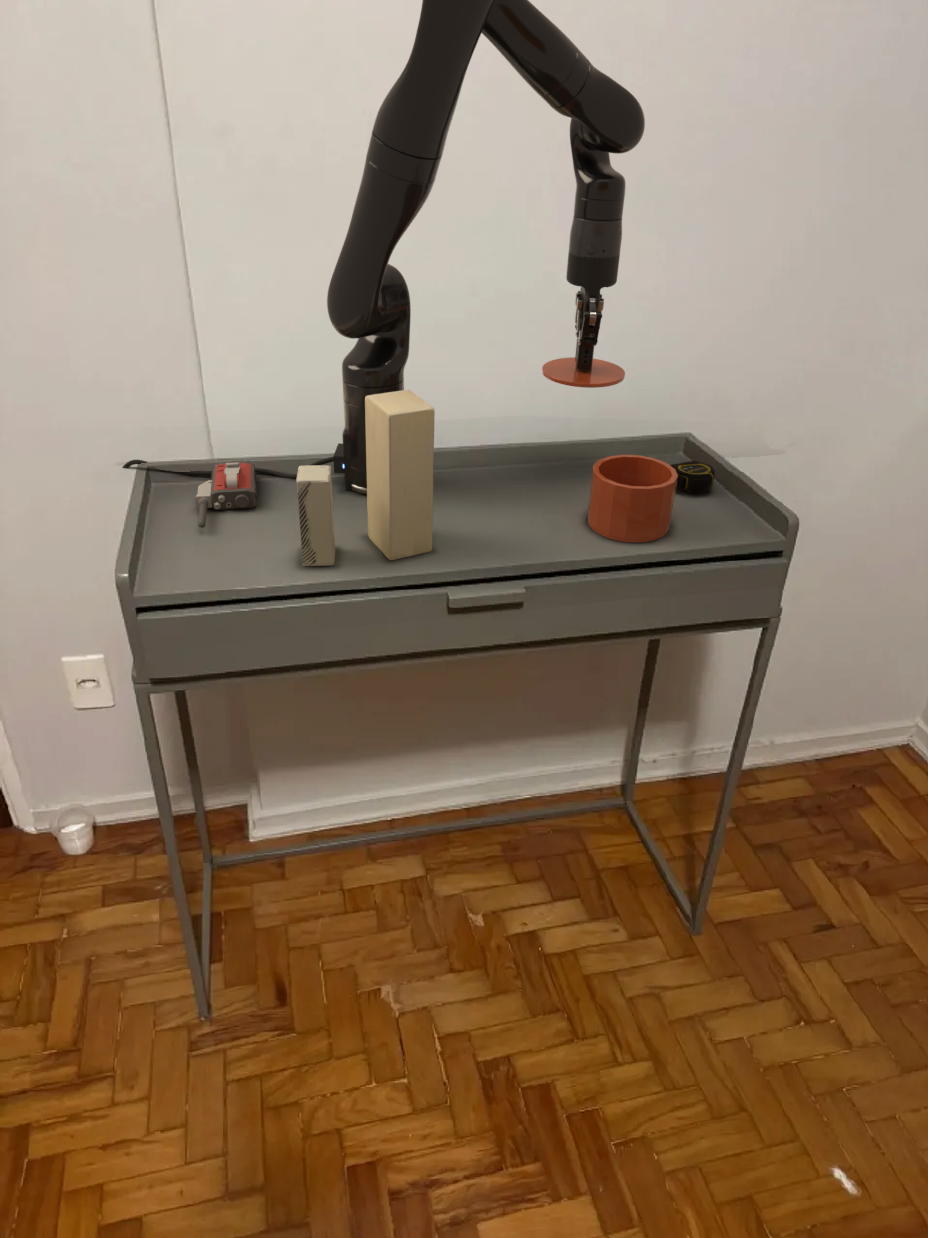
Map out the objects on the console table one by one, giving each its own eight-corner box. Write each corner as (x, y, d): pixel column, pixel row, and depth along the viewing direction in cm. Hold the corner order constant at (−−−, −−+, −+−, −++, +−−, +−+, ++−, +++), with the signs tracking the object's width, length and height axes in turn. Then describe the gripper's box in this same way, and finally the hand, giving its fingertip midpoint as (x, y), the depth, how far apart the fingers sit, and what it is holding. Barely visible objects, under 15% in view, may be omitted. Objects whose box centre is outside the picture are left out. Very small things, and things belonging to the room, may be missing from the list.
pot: (591, 541, 134) (597, 486, 130) (585, 504, 144) (590, 453, 140) (674, 544, 134) (683, 489, 129) (662, 507, 144) (670, 456, 139)
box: (304, 549, 130) (297, 463, 123) (336, 548, 130) (331, 463, 123) (302, 568, 126) (295, 480, 119) (335, 567, 126) (329, 479, 119)
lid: (543, 389, 141) (547, 347, 138) (539, 363, 152) (542, 323, 149) (629, 392, 141) (634, 351, 138) (619, 365, 152) (623, 326, 149)
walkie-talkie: (201, 477, 149) (194, 535, 133) (197, 451, 147) (190, 507, 130) (257, 474, 151) (257, 531, 134) (254, 449, 148) (254, 503, 132)
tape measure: (695, 477, 154) (698, 455, 152) (720, 493, 149) (724, 471, 147) (660, 483, 152) (663, 461, 150) (685, 500, 146) (688, 478, 144)
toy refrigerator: (438, 550, 131) (439, 406, 119) (390, 561, 128) (387, 414, 116) (413, 527, 136) (413, 387, 125) (367, 537, 134) (362, 395, 122)
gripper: (626, 260, 130) (611, 381, 140) (614, 240, 142) (602, 353, 152) (572, 259, 130) (562, 379, 140) (565, 238, 142) (556, 351, 152)
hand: (582, 365), depth 146 cm, fingers closed on lid, 2 cm apart
